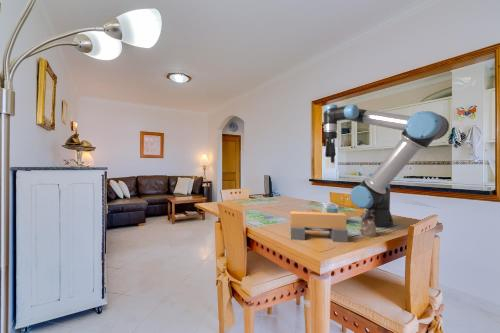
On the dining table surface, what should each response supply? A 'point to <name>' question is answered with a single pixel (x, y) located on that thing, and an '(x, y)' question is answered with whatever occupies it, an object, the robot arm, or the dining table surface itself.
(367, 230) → the figurine
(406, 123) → the robot arm
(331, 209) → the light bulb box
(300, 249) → the dining table surface
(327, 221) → the light wood long bar
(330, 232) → the grey dumbbell
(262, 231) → the dining table surface
